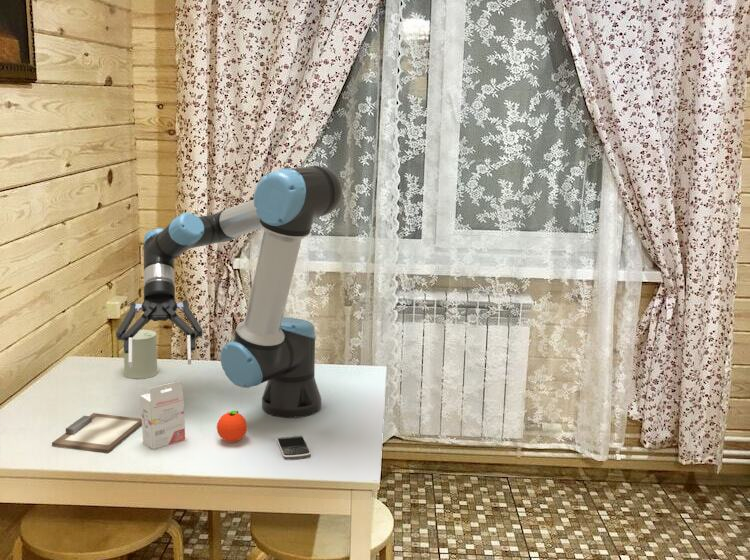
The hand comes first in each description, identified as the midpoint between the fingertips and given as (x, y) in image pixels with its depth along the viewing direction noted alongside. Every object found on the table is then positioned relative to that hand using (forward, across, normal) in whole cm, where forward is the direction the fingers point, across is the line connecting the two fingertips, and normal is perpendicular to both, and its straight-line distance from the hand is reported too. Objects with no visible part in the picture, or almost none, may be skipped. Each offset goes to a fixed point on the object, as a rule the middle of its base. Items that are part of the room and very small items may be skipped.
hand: (160, 363), depth 206 cm
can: (-15, +6, -38) cm, 41 cm away
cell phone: (+25, -29, +2) cm, 38 cm away
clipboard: (+13, +14, -9) cm, 21 cm away
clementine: (+19, -16, -3) cm, 25 cm away
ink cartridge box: (+18, 0, -4) cm, 19 cm away
